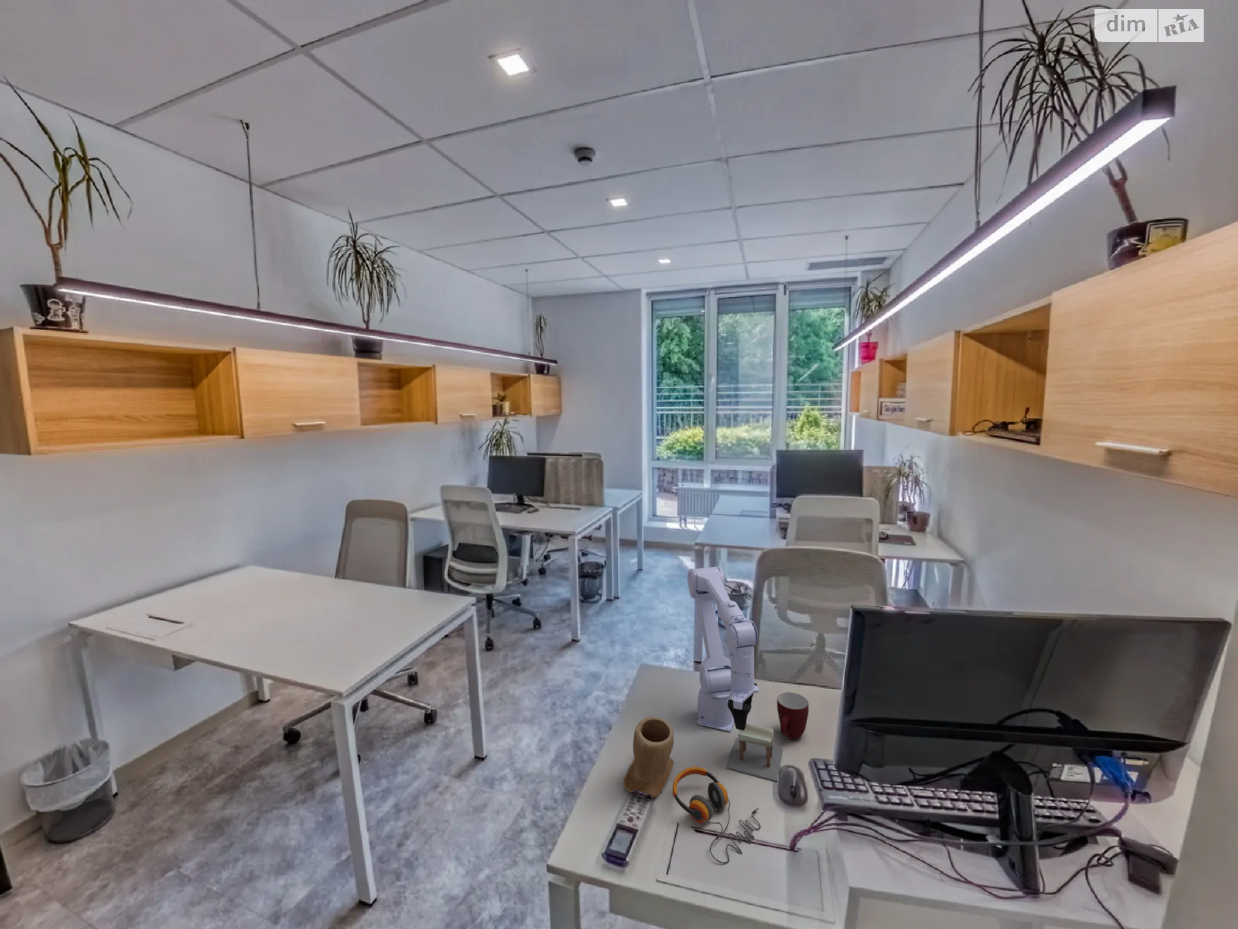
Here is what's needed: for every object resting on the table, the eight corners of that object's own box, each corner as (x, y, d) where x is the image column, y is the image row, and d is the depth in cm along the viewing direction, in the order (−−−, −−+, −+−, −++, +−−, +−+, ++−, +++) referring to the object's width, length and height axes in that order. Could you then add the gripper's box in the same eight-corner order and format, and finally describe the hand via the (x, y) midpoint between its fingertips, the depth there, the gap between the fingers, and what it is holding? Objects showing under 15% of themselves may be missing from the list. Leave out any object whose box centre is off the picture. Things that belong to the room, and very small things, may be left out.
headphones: (727, 861, 93) (656, 782, 107) (722, 881, 94) (652, 800, 109) (776, 813, 103) (705, 748, 118) (771, 832, 105) (702, 765, 119)
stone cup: (664, 809, 109) (662, 747, 107) (617, 793, 114) (615, 733, 113) (686, 765, 122) (684, 709, 121) (642, 752, 128) (641, 698, 126)
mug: (801, 754, 125) (801, 718, 124) (770, 743, 129) (770, 708, 128) (811, 732, 133) (811, 697, 132) (782, 722, 138) (782, 689, 137)
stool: (771, 768, 120) (770, 741, 119) (738, 759, 123) (737, 734, 122) (773, 755, 124) (773, 729, 123) (742, 747, 127) (741, 722, 127)
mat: (727, 768, 121) (727, 767, 120) (736, 739, 131) (736, 737, 131) (777, 782, 116) (777, 780, 115) (782, 750, 126) (782, 748, 126)
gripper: (754, 687, 114) (755, 741, 115) (762, 658, 127) (762, 707, 128) (724, 681, 116) (725, 734, 118) (735, 654, 130) (735, 701, 131)
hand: (742, 720), depth 123 cm, fingers open, 7 cm apart
